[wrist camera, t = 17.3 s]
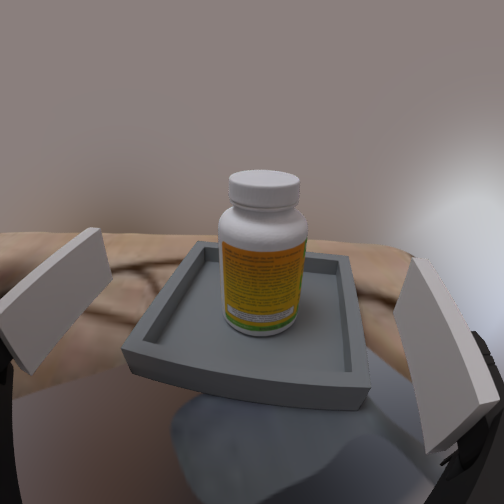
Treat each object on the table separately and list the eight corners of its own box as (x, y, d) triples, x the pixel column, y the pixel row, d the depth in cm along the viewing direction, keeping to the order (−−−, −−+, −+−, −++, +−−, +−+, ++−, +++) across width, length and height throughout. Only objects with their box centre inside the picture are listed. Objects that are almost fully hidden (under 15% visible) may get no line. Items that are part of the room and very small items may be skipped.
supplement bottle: (310, 328, 19) (331, 187, 14) (233, 346, 17) (229, 194, 12) (280, 285, 23) (288, 165, 18) (215, 296, 22) (208, 169, 17)
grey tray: (131, 373, 16) (120, 347, 15) (199, 263, 28) (197, 240, 27) (357, 410, 14) (371, 387, 12) (343, 279, 26) (348, 256, 25)
